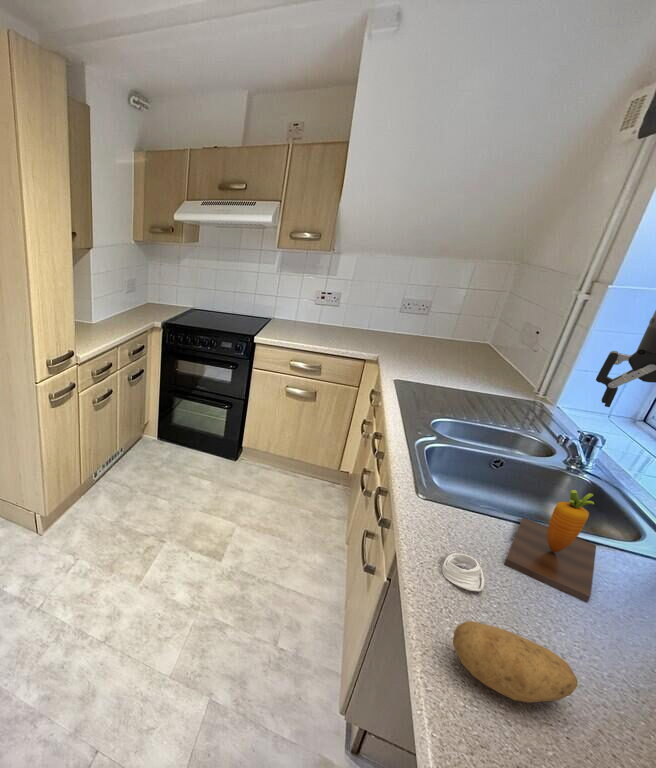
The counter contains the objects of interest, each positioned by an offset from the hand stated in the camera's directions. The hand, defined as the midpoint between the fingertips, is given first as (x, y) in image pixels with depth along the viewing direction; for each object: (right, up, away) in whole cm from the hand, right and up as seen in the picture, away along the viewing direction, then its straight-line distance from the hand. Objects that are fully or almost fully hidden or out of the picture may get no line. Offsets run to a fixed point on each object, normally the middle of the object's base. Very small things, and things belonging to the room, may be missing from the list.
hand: (640, 413), depth 77 cm
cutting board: (-8, -31, +9) cm, 33 cm away
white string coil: (-31, -33, +3) cm, 45 cm away
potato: (-39, -39, -15) cm, 57 cm away
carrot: (-8, -30, +9) cm, 32 cm away
